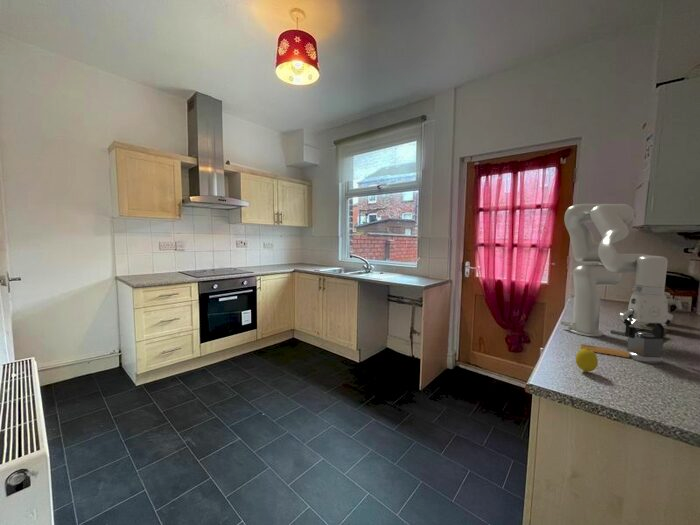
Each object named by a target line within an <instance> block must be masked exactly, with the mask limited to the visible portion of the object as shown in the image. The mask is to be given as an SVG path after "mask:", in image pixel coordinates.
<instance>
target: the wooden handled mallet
mask: <svg viewBox="0 0 700 525" xmlns="http://www.w3.org/2000/svg"><path fill="white" fill-rule="evenodd" d="M579 345H580V346H579V347H580V350H582V349H586V348H588V349H589V350H591V351H593V352H594V353H595V352H598V353H597V354H601V353H604V354H603V355H607V354H611V355H610V356H613V355H616V356H615V357H619V356H623V357H622V358H625V357H628V358H627V359H630V360H632V359H633V361H635V362H639V363H643V364H649V365H662V364H663V356H662V357H642V356H639V355H637V354H635V353H632V352H630V351H628V350H622V349H615V348H609V347H604V346H596V345H590V344H585V343H584V344H583V343H580V344H579Z"/></svg>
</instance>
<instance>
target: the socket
mask: <svg viewBox="0 0 700 525" xmlns="http://www.w3.org/2000/svg"><path fill="white" fill-rule="evenodd" d="M663 347H664V338H663V339H661V338H658V337H655V336H654V334H652V333H648V332H637V333H635V338H630V337H627V350H628V351H630V352H632V353H635V354H637V355H639V356H642V357H662V358H663ZM627 350H626V351H627Z"/></svg>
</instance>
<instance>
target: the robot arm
mask: <svg viewBox="0 0 700 525" xmlns="http://www.w3.org/2000/svg"><path fill="white" fill-rule="evenodd" d="M634 216H635V211H634V208H633V207H632V206H631V205H629V204H626V203H579V204H577V203H576V204H573V205H571V206H568V207H567V209H566V210H565V213H564V217H563V218H564V225H565V228H566V230H567V232H568V235H569V238H570V246H571V249H572V255H573V258H574V260H575V261H576V262H579V263H591V264H581V265H578V266H576V267H574V269H573V270H572V280H573V286H574V287H573V288H574V289H573V290H574V293H573V310H572V311H573V312H572V313H573V314H572V319H571V320H569V321H565V320H560V326H564V327H567V330H568V332H570V333H573V334H576V335H581V336H585V337H597V338H598V337H602V336H603V335H604V333H603V331H601V330H599V329H600V318H601V317H600V313H601V302H602V301H601V300H602V295H601V293H600V291H599V290H598V288H597V287H598V286H599V287H600V286H601V287H603V286H604V287H606V286H607V287H610V286H611V287H612V286H616V285H618V284H619V283H620V282H621V279H622V274H633V275H634V274H635V278H634V287H633V286H632V289H631V290H632V291H633V293H632V294H631V296H630V299H629V303H628V308H627V310H626V311H623V312H620V313H619V318H620V319H621V322H622V323H623V325H625V330H624V332H625V335H626V336H628V337H630V338H635V330H636V328H637V327H636V325H637V324H638V323H640V324H648V323H655V324H656V325H654V329H653V334H654V336H655V337H658V338H661V339H663V340H664V337H663V336H664V328H666V329H667V327H668V326H667V325H669V323H670V320H671V319H672V318H674V315H673V314H672V313H671V312H670V313H668V304H667V298H666V296H665V295H664V292H665V289H666V288H665V287H666V280H667V279H666V278H667V270H668V258H667V257H665V256H661V255H650V254H645V253H618V252H617V250H616V248H615V246H613V244H615V243H617V242H620V241H622V240H623V239H625V238H626V237H627V236H628V235H629V234H630V230H629V228H628V226H627V225H626V224H628V223H630V222H631V221H632V220H633V219H634ZM585 223H593V225H594V226H595V227H596V229H597V231H598V233H599V234H600V236H601V240H600V241H598V242H596V241H595V239H594V234H593V232H592V230H591V229H590V227H588V226H587V225H586V224H585ZM594 263H597V264H594ZM670 324H671V323H670ZM626 336H625V337H626ZM628 337H627V338H628Z"/></svg>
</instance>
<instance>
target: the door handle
mask: <svg viewBox="0 0 700 525" xmlns="http://www.w3.org/2000/svg"><path fill="white" fill-rule="evenodd" d="M635 328H636V330H635V333H637V332H648V333H652V334H653V330H647V329H644V328H641V327H635ZM609 332H610V334H613V335H616V334H617V336H621V335H622V336H621V337H627V338H628V336H626V335H625V331H620V330H614V329H611V330H610V331H609ZM666 335H668V334H666V332H664V336H663V338H664V337H667V336H666Z"/></svg>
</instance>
